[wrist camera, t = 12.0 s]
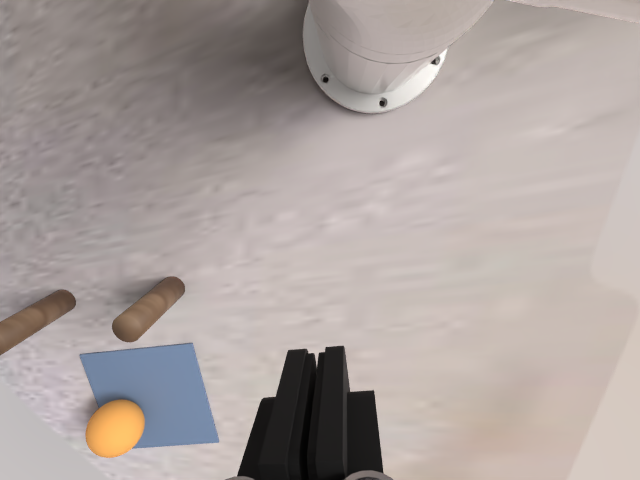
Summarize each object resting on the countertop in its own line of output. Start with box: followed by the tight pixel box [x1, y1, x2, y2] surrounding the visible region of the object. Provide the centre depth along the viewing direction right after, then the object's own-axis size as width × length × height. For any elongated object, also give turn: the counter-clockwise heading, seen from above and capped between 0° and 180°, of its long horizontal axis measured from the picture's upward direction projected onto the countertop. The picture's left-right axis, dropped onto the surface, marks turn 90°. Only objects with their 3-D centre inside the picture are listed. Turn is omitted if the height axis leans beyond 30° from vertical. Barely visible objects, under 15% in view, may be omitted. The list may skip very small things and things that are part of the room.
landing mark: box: [80, 343, 219, 449], centre depth 45 cm, size 14×14×1 cm
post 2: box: [112, 277, 185, 342], centre depth 36 cm, size 3×3×9 cm
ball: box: [86, 399, 145, 458], centre depth 42 cm, size 6×6×6 cm
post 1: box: [0, 290, 76, 355], centre depth 37 cm, size 3×3×9 cm
